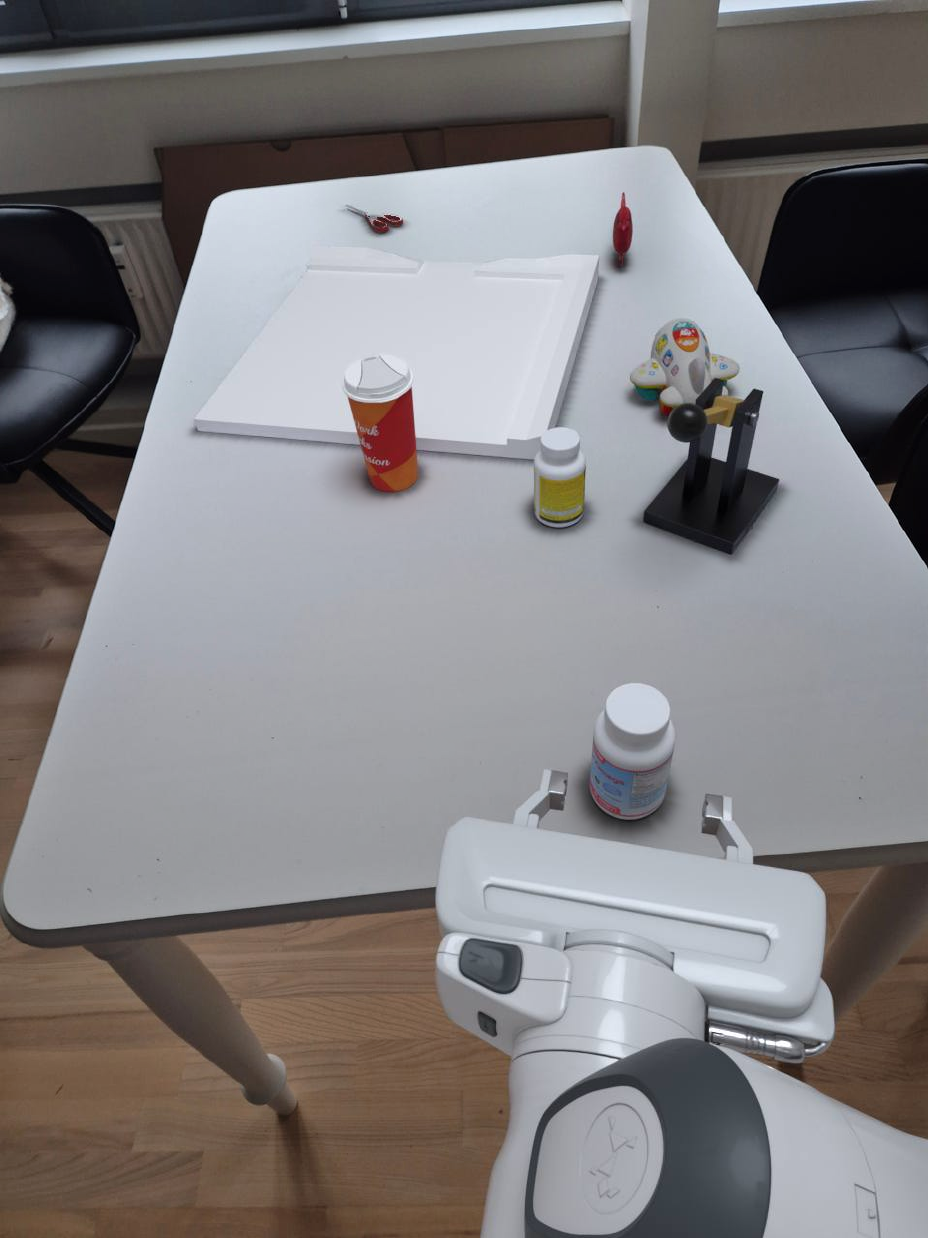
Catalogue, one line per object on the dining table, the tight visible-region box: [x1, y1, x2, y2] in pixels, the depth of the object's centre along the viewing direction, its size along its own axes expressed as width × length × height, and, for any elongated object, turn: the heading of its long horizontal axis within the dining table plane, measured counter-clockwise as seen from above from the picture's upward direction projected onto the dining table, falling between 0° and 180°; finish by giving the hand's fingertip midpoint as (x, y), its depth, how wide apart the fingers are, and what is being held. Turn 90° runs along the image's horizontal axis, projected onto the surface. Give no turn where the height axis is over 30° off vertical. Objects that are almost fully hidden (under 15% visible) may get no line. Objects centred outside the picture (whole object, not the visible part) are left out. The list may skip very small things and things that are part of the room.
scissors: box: [345, 204, 404, 233], centre depth 151 cm, size 5×14×1 cm, turn 41°
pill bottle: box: [589, 682, 677, 821], centre depth 66 cm, size 6×6×11 cm
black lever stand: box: [642, 378, 780, 555], centre depth 88 cm, size 12×10×14 cm
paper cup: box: [342, 355, 419, 493], centre depth 96 cm, size 8×8×14 cm
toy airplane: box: [629, 317, 741, 416], centre depth 105 cm, size 13×9×15 cm
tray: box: [193, 245, 600, 461], centre depth 119 cm, size 45×45×4 cm
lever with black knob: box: [667, 395, 745, 444], centre depth 80 cm, size 14×3×3 cm, turn 145°
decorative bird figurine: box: [612, 191, 634, 267], centre depth 131 cm, size 3×18×10 cm, turn 173°
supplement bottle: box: [533, 426, 587, 528], centre depth 91 cm, size 5×5×10 cm
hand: (635, 788), depth 51 cm, fingers open, 8 cm apart
